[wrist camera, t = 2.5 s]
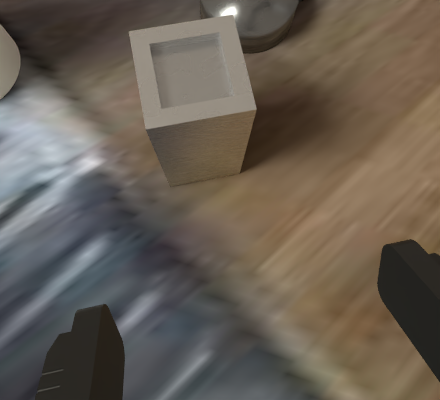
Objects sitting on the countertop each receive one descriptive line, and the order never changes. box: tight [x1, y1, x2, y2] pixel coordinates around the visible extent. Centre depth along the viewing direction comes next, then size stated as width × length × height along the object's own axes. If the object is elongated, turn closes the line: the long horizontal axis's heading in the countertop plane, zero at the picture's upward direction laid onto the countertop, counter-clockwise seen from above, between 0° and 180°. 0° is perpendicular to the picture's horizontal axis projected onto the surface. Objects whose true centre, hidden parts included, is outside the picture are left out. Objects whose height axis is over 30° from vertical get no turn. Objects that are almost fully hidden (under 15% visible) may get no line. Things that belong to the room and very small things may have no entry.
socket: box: [129, 14, 257, 187], centre depth 21 cm, size 5×5×10 cm
